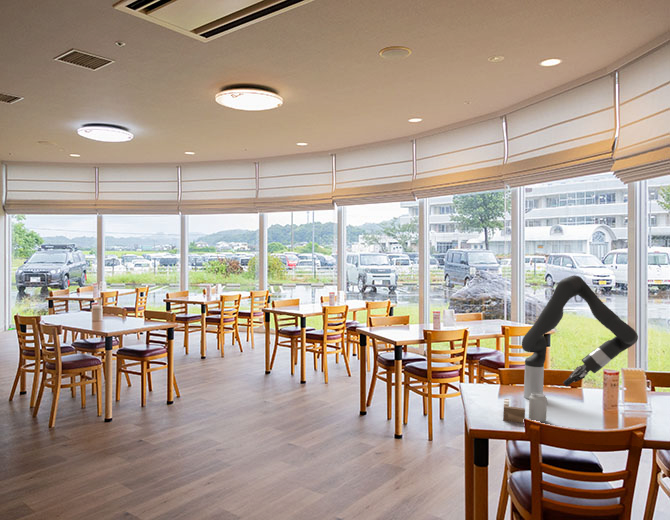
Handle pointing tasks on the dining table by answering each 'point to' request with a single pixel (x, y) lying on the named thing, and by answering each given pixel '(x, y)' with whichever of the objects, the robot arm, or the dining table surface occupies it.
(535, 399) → the can
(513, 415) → the corner stop
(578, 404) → the dining table surface
